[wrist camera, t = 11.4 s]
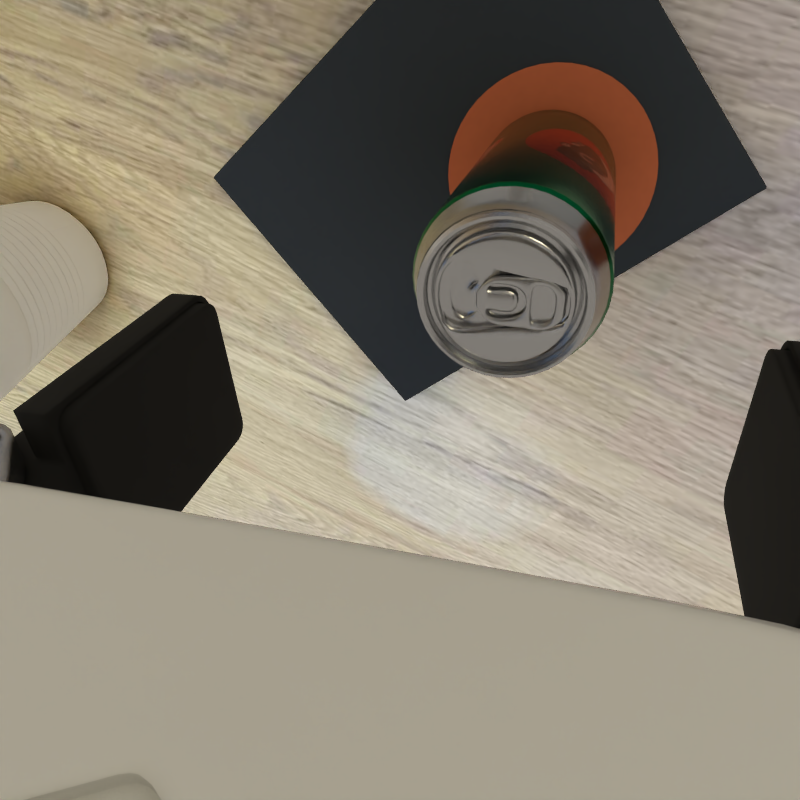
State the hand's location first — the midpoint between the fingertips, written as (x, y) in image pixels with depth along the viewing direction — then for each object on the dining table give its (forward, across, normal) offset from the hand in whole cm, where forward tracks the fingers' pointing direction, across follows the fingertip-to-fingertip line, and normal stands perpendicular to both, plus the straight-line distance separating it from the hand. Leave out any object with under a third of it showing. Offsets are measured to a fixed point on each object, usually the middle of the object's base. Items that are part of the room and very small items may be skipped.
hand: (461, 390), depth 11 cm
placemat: (+17, +4, +1) cm, 18 cm away
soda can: (+17, 0, +1) cm, 17 cm away
